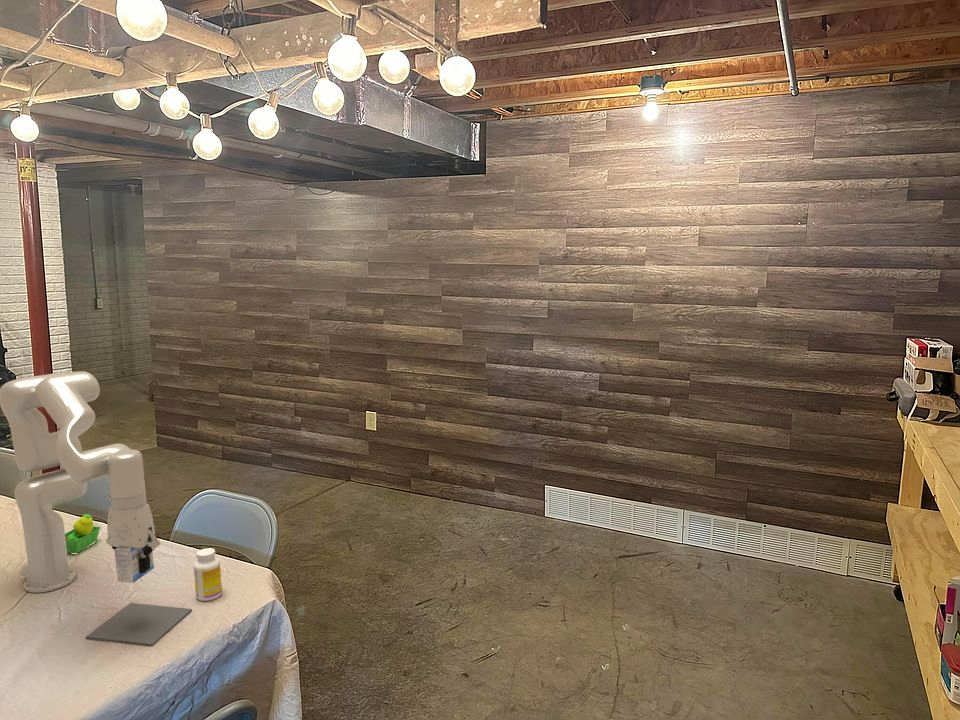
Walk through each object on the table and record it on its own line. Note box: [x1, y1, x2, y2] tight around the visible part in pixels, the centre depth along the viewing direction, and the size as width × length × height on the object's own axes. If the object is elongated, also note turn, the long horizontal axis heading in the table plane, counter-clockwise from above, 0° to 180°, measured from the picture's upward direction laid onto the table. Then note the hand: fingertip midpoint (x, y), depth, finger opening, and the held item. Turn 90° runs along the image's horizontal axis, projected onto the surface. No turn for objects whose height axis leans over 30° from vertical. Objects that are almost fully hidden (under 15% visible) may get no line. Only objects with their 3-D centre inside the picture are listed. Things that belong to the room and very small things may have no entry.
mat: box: [85, 602, 193, 647], centre depth 169 cm, size 18×16×1 cm
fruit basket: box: [65, 513, 101, 554], centre depth 211 cm, size 11×9×11 cm
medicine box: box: [113, 542, 155, 584], centre depth 166 cm, size 8×4×9 cm, turn 169°
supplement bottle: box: [193, 547, 223, 602], centre depth 182 cm, size 7×7×13 cm
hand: (135, 569), depth 167 cm, fingers closed on medicine box, 4 cm apart
